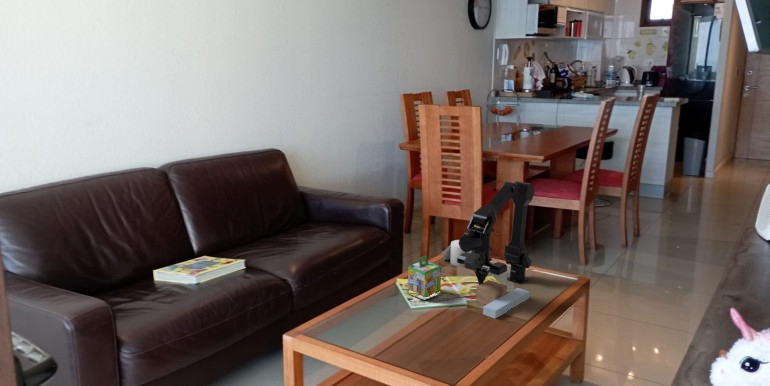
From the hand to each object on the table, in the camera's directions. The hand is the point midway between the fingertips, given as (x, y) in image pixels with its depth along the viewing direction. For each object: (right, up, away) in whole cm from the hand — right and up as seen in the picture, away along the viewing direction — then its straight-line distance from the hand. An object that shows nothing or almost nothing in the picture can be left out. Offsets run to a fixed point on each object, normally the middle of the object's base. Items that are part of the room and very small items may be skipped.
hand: (480, 284), depth 233 cm
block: (+4, -6, -2) cm, 7 cm away
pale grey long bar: (+8, -7, -6) cm, 13 cm away
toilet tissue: (-4, +4, +36) cm, 37 cm away
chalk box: (-21, -4, +4) cm, 21 cm away
